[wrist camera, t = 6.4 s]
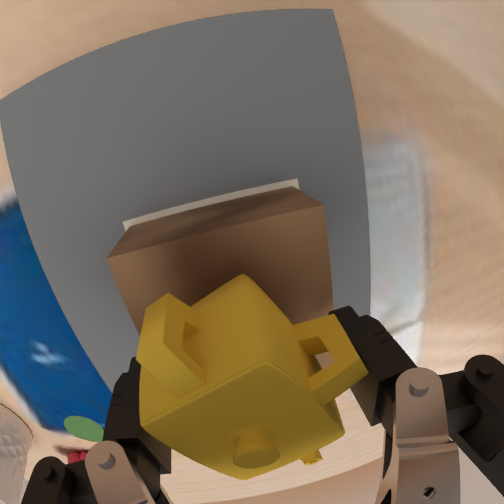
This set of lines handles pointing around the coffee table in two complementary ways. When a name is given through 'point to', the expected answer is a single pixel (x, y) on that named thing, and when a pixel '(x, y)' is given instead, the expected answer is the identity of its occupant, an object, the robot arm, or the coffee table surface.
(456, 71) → the coffee table surface
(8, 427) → the white cup
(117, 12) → the coffee table surface
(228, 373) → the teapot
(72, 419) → the toy pieces
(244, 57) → the gray board
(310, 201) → the base block
